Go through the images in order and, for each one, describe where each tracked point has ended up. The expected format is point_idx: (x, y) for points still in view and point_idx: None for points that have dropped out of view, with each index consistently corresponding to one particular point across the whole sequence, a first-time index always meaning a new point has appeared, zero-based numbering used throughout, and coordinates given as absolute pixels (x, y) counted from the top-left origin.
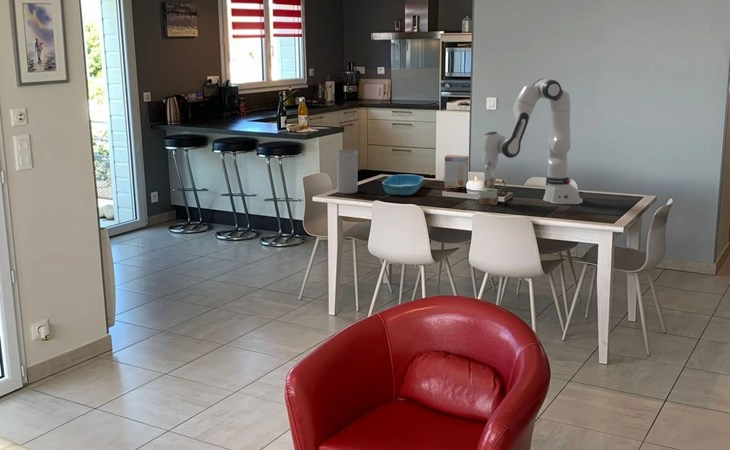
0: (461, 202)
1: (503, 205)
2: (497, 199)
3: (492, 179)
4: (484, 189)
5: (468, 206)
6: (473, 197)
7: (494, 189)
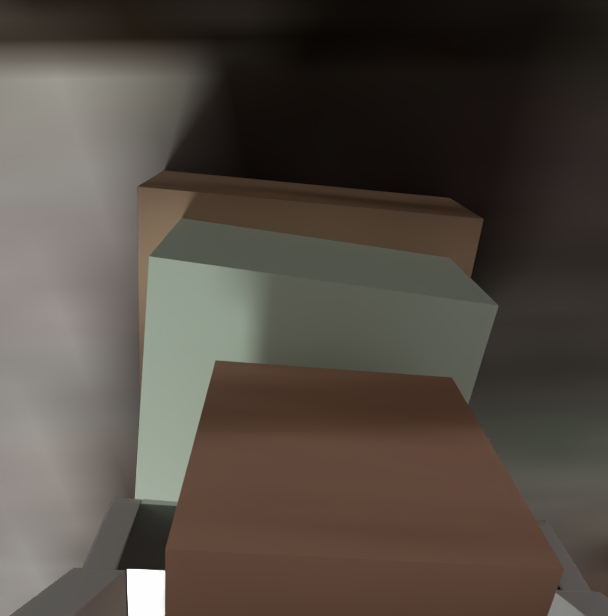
0: None
1: (467, 69)
2: (289, 192)
3: (405, 602)
4: None
5: None
6: (3, 517)
7: (213, 319)
